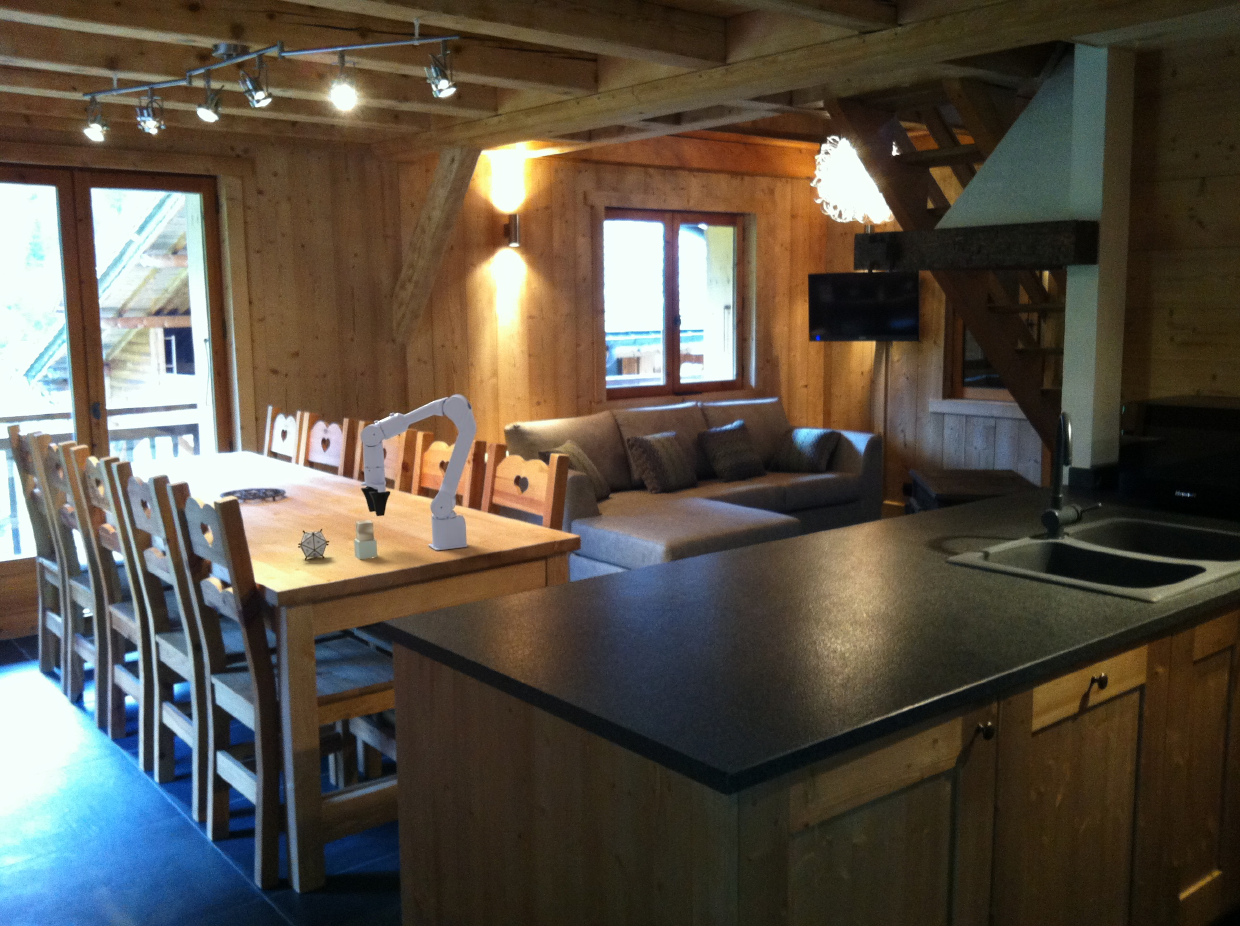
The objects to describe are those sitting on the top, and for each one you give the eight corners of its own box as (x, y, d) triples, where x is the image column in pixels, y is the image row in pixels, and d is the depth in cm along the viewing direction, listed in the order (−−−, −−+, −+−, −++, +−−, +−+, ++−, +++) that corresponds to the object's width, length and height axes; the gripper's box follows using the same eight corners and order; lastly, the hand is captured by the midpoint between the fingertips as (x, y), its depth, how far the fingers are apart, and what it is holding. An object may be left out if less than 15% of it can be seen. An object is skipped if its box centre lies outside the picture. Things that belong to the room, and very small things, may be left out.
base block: (372, 554, 307) (371, 536, 306) (377, 557, 302) (376, 540, 301) (355, 556, 304) (354, 539, 304) (359, 560, 300) (358, 542, 299)
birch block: (370, 537, 305) (369, 519, 304) (374, 540, 302) (373, 522, 301) (356, 539, 303) (355, 521, 303) (359, 541, 300) (358, 524, 299)
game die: (318, 572, 302) (318, 548, 295) (291, 561, 303) (290, 537, 296) (335, 551, 308) (335, 527, 301) (309, 539, 309) (308, 516, 303)
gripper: (353, 464, 314) (356, 511, 316) (366, 471, 301) (369, 519, 303) (377, 462, 317) (380, 508, 319) (391, 468, 304) (394, 516, 306)
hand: (376, 513), depth 311 cm, fingers open, 7 cm apart
